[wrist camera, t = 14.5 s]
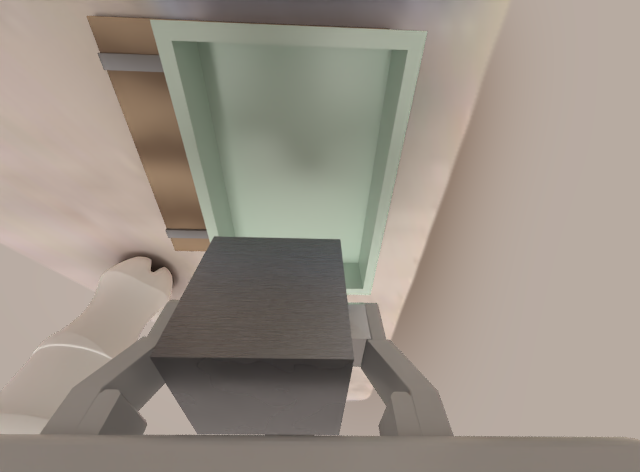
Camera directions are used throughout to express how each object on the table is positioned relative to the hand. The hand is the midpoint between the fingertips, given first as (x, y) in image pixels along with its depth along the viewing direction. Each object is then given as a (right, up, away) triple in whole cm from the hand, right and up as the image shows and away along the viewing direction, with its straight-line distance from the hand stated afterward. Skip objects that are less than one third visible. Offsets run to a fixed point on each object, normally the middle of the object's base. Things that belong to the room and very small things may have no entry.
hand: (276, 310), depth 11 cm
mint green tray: (0, +9, +13) cm, 15 cm away
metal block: (0, +1, +1) cm, 2 cm away
